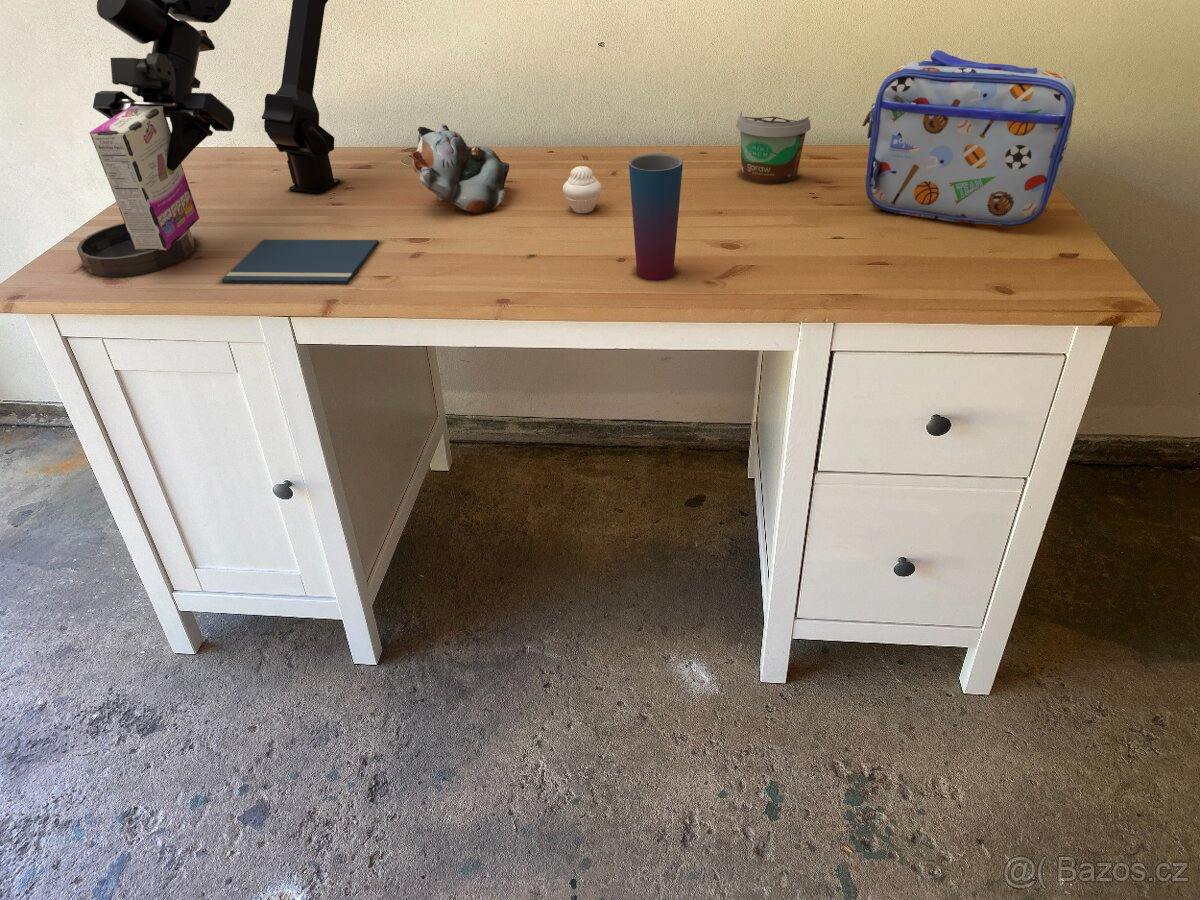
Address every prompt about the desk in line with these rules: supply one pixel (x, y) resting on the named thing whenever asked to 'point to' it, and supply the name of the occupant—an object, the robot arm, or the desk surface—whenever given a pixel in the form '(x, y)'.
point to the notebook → (302, 261)
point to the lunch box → (968, 140)
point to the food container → (771, 147)
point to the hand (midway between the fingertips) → (153, 168)
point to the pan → (127, 253)
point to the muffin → (582, 190)
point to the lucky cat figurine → (459, 170)
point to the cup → (655, 212)
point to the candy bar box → (145, 177)
